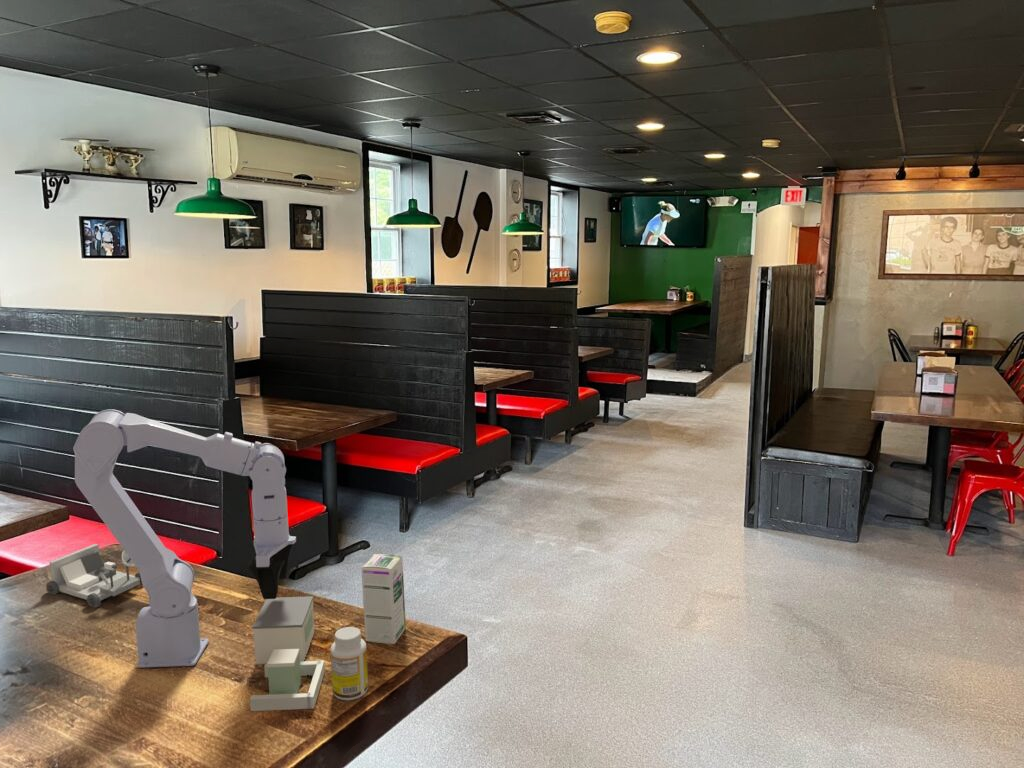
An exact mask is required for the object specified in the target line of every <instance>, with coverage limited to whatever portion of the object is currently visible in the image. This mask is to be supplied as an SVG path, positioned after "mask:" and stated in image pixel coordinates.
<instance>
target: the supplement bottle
mask: <svg viewBox="0 0 1024 768" xmlns="http://www.w3.org/2000/svg"><path fill="white" fill-rule="evenodd" d="M367 652H368V651H367V643H366V640H364V639H363V638H362V633H361V630H360V629H359V628H357V627H354V626H346V627H342V628H339V629H338V630H336V632H335V633H334V642H333V643H331V645H330V666H331V685H332V686H331V687H332V693H333V695H334V697H335V698H337V699H339V700H342V701H354V700H357V699H360V698H361V697H363V696H364V695H365V694H366V693H367V691H368V688H369V676H368V675H369V673H368V672H369V671H368V656H367V655H368V653H367Z"/></svg>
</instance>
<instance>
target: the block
mask: <svg viewBox="0 0 1024 768" xmlns="http://www.w3.org/2000/svg"><path fill="white" fill-rule="evenodd" d="M299 653H300V650H299V649H277V650H273V652H272V654H271V656H270V658H269V661H268V663H267V667H268V677H267V678H268V690H269V691H268V692H269V695H276V694H299V691H300V687H301V686H302V676H301V673H300V656H299Z"/></svg>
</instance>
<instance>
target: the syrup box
mask: <svg viewBox="0 0 1024 768" xmlns="http://www.w3.org/2000/svg"><path fill="white" fill-rule="evenodd" d="M403 561H404V560H403V556H401V555H397V554H396V555H395V554H388V553H385V554H384V553H374V554H372V556H371V557H370V558H369V559H368V560H367V561H365V563H364V564H363V565H362V566H361V568H360V569H361V584H362V601H363V602H362V604H363V617H364V618H363V619H364V634H365V642H371V643H376V644H377V643H378V644H386V645H387V644H388V645H396V643H397V641H398V639H399V638H401V636H402V634H403V633H404V632H405V629H406V628H407V627H406V608H405V607H406V606H405V605H406V604H405V602H406V601H405V584H404V583H405V582H404V564H403Z"/></svg>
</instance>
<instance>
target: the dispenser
mask: <svg viewBox="0 0 1024 768" xmlns="http://www.w3.org/2000/svg"><path fill="white" fill-rule="evenodd" d="M314 617H315V616H314V596H284V597H283V596H282V597H276V599H265V601H264V602H263V605H262V606H261V609H260V611H259V613H258V614H257V617H256V618H255V620H254V623H253V624H252V626H251V627H252V628H251V629H252V630H253V644H254V659H255V665H265V663H268V661H269V658H270V656H271V654H272V652H273V650H277V649H299V650H300V653H299V656H300V662H302V661H304V660H305V661H306V658H305V657H307V655H308V651H309V648H310V647H311V644H310V643H312V641H313V637H314V635H315V618H314ZM306 654H307V655H306Z"/></svg>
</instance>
